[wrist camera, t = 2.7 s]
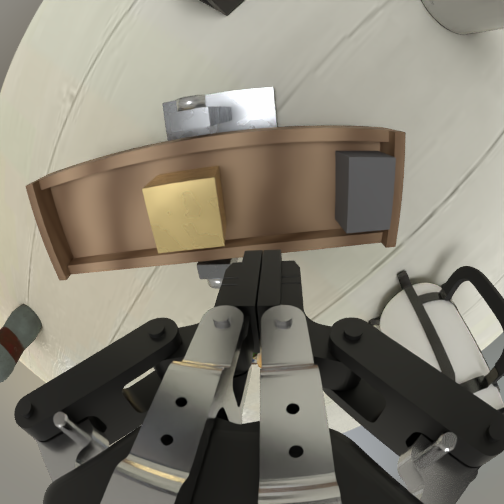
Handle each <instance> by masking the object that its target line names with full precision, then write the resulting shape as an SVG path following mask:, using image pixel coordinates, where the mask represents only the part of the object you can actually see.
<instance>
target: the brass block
mask: <svg viewBox="0 0 504 504" xmlns="http://www.w3.org/2000/svg"><path fill="white" fill-rule="evenodd" d="M142 191H143V195H144V199H145V204H146V208H147V212H148V216H149V220H150V224H151V228H152V232H153V236H154V239H155V243H156V247H157V250H158V253H166V252H175V251H184V250H193V249H202V248H211V247H220V246H225V237H226V226H227V222H226V215H225V208H224V201H223V194H222V186H221V179H220V171H219V166H211V167H204V168H197V169H190V170H184V171H178V172H172V173H166V174H160V175H157V176H156V177H155V178H154V179H153V180H151V181H150V182H149V183H148V184H147V185H146V186H145V187H144V188H142Z"/></svg>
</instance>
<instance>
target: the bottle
mask: <svg viewBox="0 0 504 504" xmlns="http://www.w3.org/2000/svg"><path fill="white" fill-rule="evenodd" d="M41 326H42V325H41V322H40V319H39V318H38V316H37V315H36V314H35V312H34V311H33V310H32V309H31V308H30V307H28V306H27V305H24V304H23V305H21V306H19V307H18V308H16V309H15V310H14V311H13V312H12V313H11V315H10V316H9V318H8V319H7V321H6V323H5V324H4V326H3V327H2V328H1V329H0V382H3V381H4V380H6V379H7V378H8V377H9V375H10V374H11V373H12V371H13V369H14V367H15V365H16V363H17V362H18V360H19V358H20V356H21V355H22V353H23V351H24V350H25V349H26V348H27V347H28V346H29V345H30V344H31V343H32V342H33V341H34V340H35V339H36V337H37V335H38V333H39V331H40V329H41Z"/></svg>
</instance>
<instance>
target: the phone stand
mask: <svg viewBox="0 0 504 504" xmlns="http://www.w3.org/2000/svg"><path fill="white" fill-rule="evenodd" d="M200 1H202V2H203V3H205V4H207V5H209V6H211V7H213V8H214V9H216V10H218V11H219V12H221V13H223V14H225V15H226V16H227V15H228V14H229V13H230V12H231V11H232V10H233V9H234V8H235V7H237V6H238V5H239V4H240V3H241V2H242V1H243V0H200Z"/></svg>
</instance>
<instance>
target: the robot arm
mask: <svg viewBox="0 0 504 504" xmlns="http://www.w3.org/2000/svg"><path fill="white" fill-rule="evenodd" d="M422 2H423V3H424V5H425V7H426V8H427V10H428V11H429V13H430V14H431V15H432V16H433V17H434V18H435V19H436V20H437V21H438V22H439V23H440V24H441V25H443V26H444V27H445V28H447V29H449V30H450V31H452V32H455V33H457V34H469V33H473V32H475V33H480V32H485V31H491V30H497V29H504V0H422ZM260 350H261V362H262V366H261V369H260V421H257V422H252V423H246V424H242V412H243V407H244V403H245V398H246V394H247V389H248V385H249V380H250V376H251V371H252V367H251V364H252V358H253V353H260ZM152 367H153V368H154V369H155V371H153V372H152V373H150V374H149V375H147V376H146V377H144V378H143V379H141V380H140V381H138V382H137V383H135V384H134V385H132V386H131V387H129V388H126V389H123V388H124V386H125V385H126V384H128V383H129V382H131V381H132V380H134V379H136V378H137V377H139V376H140V375H142V374H143V373H145V372H146V371H148V370H149V369H151V368H152ZM323 391H324V392H325V393H326V394H327V395H328V396H329V397H330V398H331V399H332V400H333V401H334V402H335V403H337V404H338V405H339V406H340V407H341V408H342V409H343V410H345V411H346V412H347V413H348V414H349V415H350V416H351V417H353V418H354V419H355V420H356V421H357V422H358V423H360V424H361V425H362V426H363V427H364V428H365V429H367V430H368V431H369V432H370V433H371V434H373V435H374V436H375V437H376V438H377V439H379V440H380V441H381V442H382V443H383V444H385V445H386V446H387V447H389V448H390V449H391V450H392V451H393V452H395V453H396V454H397V455H399V456H400V458H399V461H398V466H397V469H398V473H399V476H400V477H401V478H402V480H403V481H404V482H405V483H406V485H407V488H408V490H407V489H406V488H405V487H403V486H402V485H401V484H400V483H399V482H397V481H396V480H395V479H394V478H392V476H390V475H389V474H388V473H387V472H386V471H385V470H384V469H383V468H382V467H380V466H379V465H378V464H377V463H376V462H375V461H374V460H373V459H372V458H371V457H369V456H368V455H367V454H366V453H365V452H364V451H363V450H362V449H361V448H360V447H359V446H358V445H357V444H356V443H355V442H353V441H352V440H351V439H350V438H348V437H346V436H345V435H343V434H342V433H340V432H338V431H335V430H333V429H330V428H329V426H328V420H327V413H326V407H325V401H324V395H323ZM15 420H16V423H17V424H18V425H19V426H20V427H21V428H22V429H24V430H25V431H26V432H27V433H28V434H30V435H31V436H32V437H33V438H34V439H35V440H36V441H37V443H38V446H39V449H40V452H41V455H42V457H43V460H44V463H45V465H46V467H47V470H48V472H49V475H50V477H51V479H52V481H53V482H52V484H50V485H49V487H48V488H47V490H46V492H45V495H44V500H43V504H455V503H456V502H457V501H458V499H459V498H460V497H461V495H462V494H463V492H464V491H465V489H466V488H467V486H468V485H469V484H470V482H471V480H472V479H473V477H474V476H475V474H476V473H477V471H478V469H479V468H480V467H481V466H482V465H483V464H485V463H486V462H488V461H490V460H491V459H492V458H494V457H496V456H497V455H498V454H500V453H501V452H502V451H503V450H504V415H503V414H502V413H501V412H499V411H498V410H496V409H495V408H493V407H492V406H490V405H489V404H487V403H486V402H484V401H483V400H482V399H480V398H479V397H477V396H476V395H474V394H473V393H471V392H470V391H468V390H467V389H465V388H464V387H462V386H461V385H460V384H458V383H457V382H455V381H454V380H452V379H451V378H449V377H448V376H446V375H445V374H443V373H442V372H440V371H439V370H437V369H436V368H434V367H433V366H431V365H430V364H429V363H427V362H426V361H424V360H423V359H421V358H420V357H418V356H417V355H415V354H414V353H412V352H411V351H409V350H408V349H406V348H405V347H403V346H402V345H400V344H399V343H397V342H396V341H394V340H393V339H391V338H390V337H388V336H387V335H385V334H384V333H382V332H381V331H379V330H378V329H376V328H375V327H373V326H372V325H370V324H369V323H367V322H366V321H364V320H362V319H358V318H344V319H341V320H339V321H337V322H336V323H334V324H333V326H332V327H331V326H326V325H321V324H318V323H315V322H313V321H312V320H310V319H309V318H308V317H307V316H306V314H305V312H304V309H303V297H302V285H301V275H300V267H299V266H298V265H297V264H296V262H295V261H282V257H281V249H276V250H264V251H263V250H248V251H245V252H244V257H243V261H242V262H237V263H232V264H231V265H230V266H229V267H228V268H227V269H226V271H225V274H224V277H223V280H222V283H221V287H220V290H219V293H218V296H217V300H216V303H215V306H214V308H212V309H210V310H208V311H207V312H206V313H205V314H204V315H203V317H202V319H201V321H200V323H198V324H195V325H191V326H186V327H181V328H178V327H177V325H176V323H175V322H174V321H173V320H171V319H168V318H156V319H153V320H150V321H148V322H147V323H145V324H143V325H142V326H140V327H139V328H137V329H135V330H134V331H132V332H130V333H129V334H127V335H125V336H124V337H122V338H120V339H119V340H117V341H115V342H114V343H112V344H111V345H109V346H107V347H106V348H104V349H102V350H101V351H99V352H97V353H96V354H94V355H92V356H91V357H89V358H87V359H86V360H84V361H82V362H81V363H79V364H77V365H76V366H74V367H72V368H71V369H69V370H67V371H66V372H64V373H62V374H61V375H59V376H57V377H56V378H54V379H52V380H51V381H49V382H47V383H46V384H44V385H43V386H41V387H39V388H37V389H36V390H34V391H32V392H31V393H29V394H27V395H26V396H24V397H23V398H22V399H20V401H19V402H18V404H17V406H16V408H15ZM140 425H141V426H140ZM137 427H138V428H137ZM134 429H135V430H134ZM131 431H132V432H131ZM128 433H129V434H128ZM127 434H128V435H127ZM125 435H126V436H125ZM123 436H125V437H123ZM122 437H123V438H122ZM120 438H122V439H120ZM119 439H120V440H119ZM117 440H119V441H117ZM115 441H117V442H116V443H114V442H115ZM112 443H114V444H113V445H112V446H110V447H109V445H111V444H112Z"/></svg>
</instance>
